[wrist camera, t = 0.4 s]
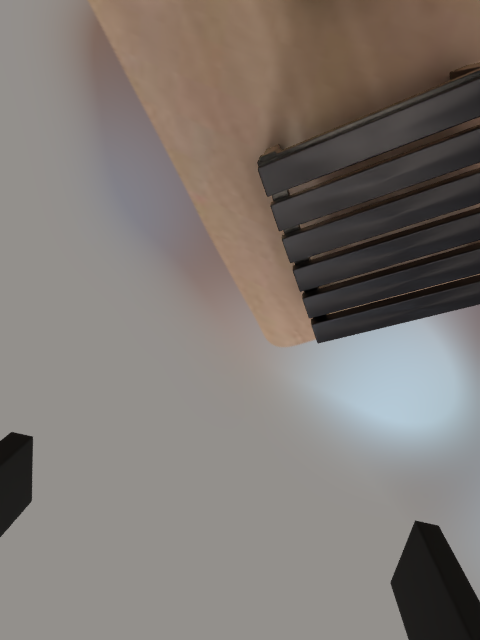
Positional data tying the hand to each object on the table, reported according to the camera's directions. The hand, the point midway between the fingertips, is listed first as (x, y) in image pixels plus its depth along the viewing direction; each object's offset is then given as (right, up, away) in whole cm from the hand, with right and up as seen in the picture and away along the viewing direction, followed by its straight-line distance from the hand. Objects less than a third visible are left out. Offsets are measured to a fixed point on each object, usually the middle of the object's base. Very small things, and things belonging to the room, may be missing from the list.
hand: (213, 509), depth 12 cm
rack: (+13, +17, +20) cm, 29 cm away
